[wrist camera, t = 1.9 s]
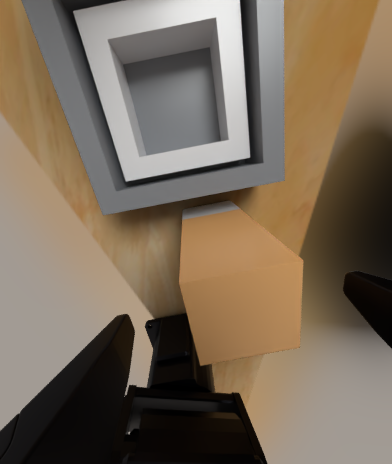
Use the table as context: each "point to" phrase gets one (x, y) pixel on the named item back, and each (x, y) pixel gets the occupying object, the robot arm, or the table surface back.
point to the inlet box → (168, 93)
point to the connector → (237, 285)
